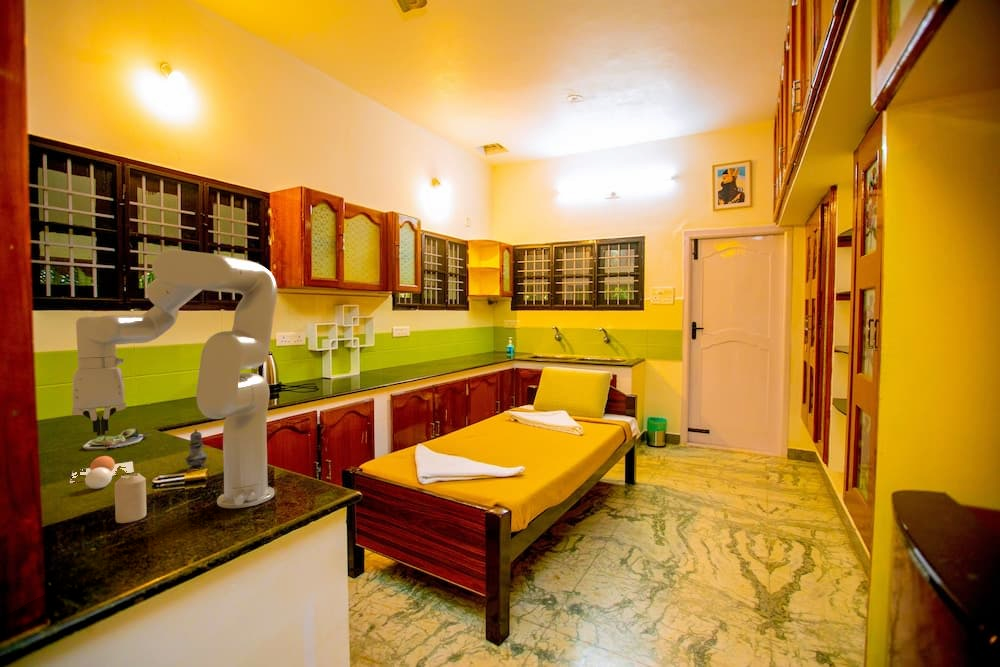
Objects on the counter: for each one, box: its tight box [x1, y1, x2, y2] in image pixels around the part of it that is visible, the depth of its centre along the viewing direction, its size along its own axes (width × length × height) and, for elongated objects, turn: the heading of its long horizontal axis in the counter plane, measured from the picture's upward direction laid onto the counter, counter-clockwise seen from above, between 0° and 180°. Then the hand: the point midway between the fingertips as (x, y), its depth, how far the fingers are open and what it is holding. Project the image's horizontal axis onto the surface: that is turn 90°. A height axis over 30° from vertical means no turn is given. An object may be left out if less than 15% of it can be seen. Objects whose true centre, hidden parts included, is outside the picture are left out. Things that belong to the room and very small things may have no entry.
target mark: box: [69, 460, 135, 484], centre depth 138 cm, size 14×14×1 cm
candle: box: [114, 472, 147, 524], centre depth 105 cm, size 6×6×10 cm
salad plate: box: [82, 427, 150, 451], centre depth 170 cm, size 19×18×5 cm
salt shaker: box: [184, 429, 208, 471], centre depth 141 cm, size 6×6×12 cm
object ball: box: [89, 455, 116, 471], centre depth 135 cm, size 6×6×6 cm
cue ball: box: [84, 467, 113, 490], centre depth 124 cm, size 6×6×6 cm
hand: (101, 434), depth 120 cm, fingers closed
